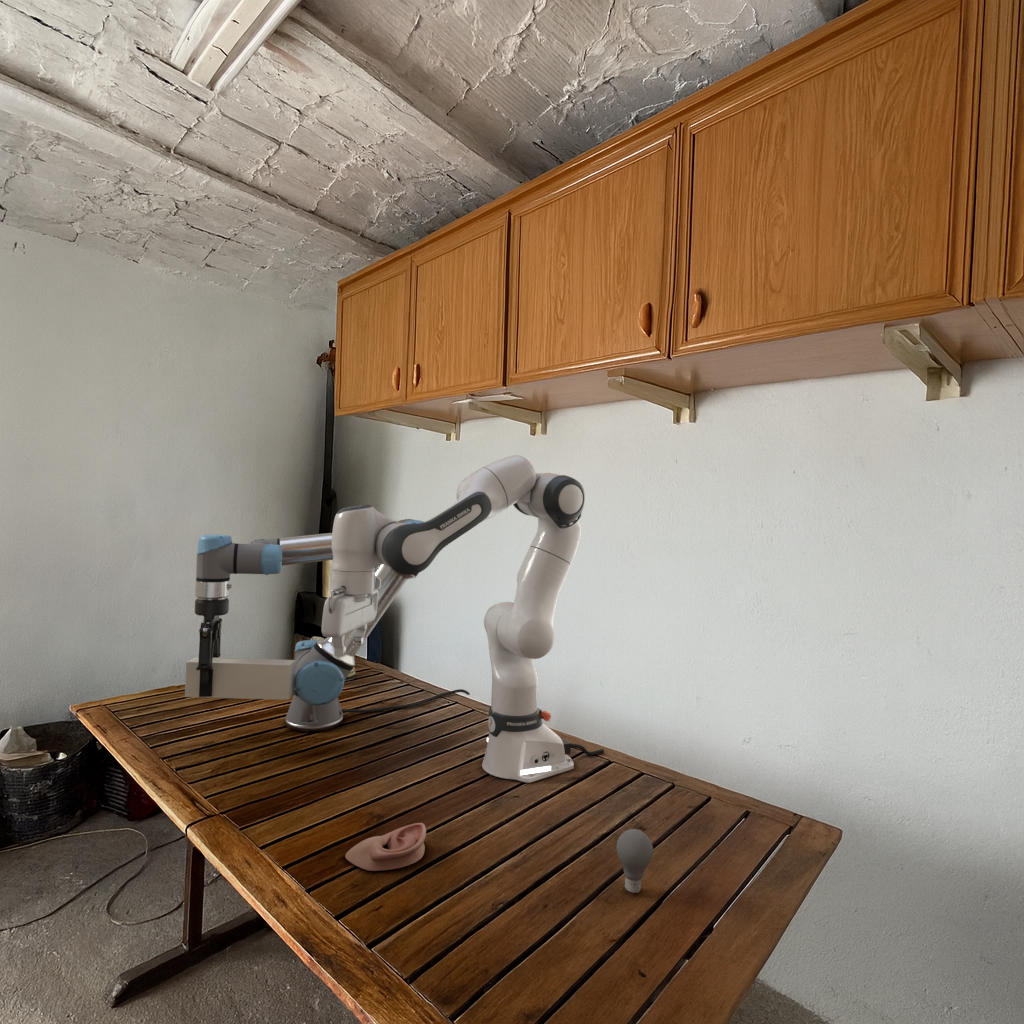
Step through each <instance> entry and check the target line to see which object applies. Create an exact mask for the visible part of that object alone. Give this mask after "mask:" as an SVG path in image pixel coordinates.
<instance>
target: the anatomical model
mask: <svg viewBox="0 0 1024 1024" xmlns="http://www.w3.org/2000/svg"><path fill="white" fill-rule="evenodd" d="M426 837H427V827H426V824H425V823H423V822H415V823H412V824H408V825H404V826H402V827H399V828H396V829H394V830H392V831H390V832H388V833H384V834H382V835H375V836H372V837H367V838H365V839H364V840H361V841H360V842H358V843H357V844H356V845H353V847H351V848H350V849H349V850H348V851H347V852H346V853H345V856H344V857H345V860H347V862H349V863H350V864H352V865H354V866H356V867H357V868H360V869H362V870H364V871H367V872H378V871H380V872H381V871H389V870H396V869H400V868H404V867H407V866H410V865H412V864H415V863H417V862H418V861H420V860H421V859H422V858H423V857H424V854H425V851H426V849H425V848H426V846H425V843H424V842H425V840H426Z"/></svg>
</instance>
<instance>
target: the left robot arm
mask: <svg viewBox="0 0 1024 1024" xmlns="http://www.w3.org/2000/svg"><path fill="white" fill-rule="evenodd" d="M397 521H398V522H400V523H405V524H417V523H423V522H424V521H423V520H419V519H412V518H405V519H401V520H397ZM197 540H198V541H197V551H196V567H195V568H196V571H195V588H194V596H195V598H196V599H195V600H194V614H195V615H197V616H202V617H203V620H202V621H203V622H200V628H199V630H198V632H199V645H198V657H199V662H198V668H196V670H200V684H199V697H211V696H212V681H213V669H212V661H213V658H221V655H222V654H221V644H222V643H221V641H222V625H223V623H222V622H223V618H222V617H220V616H224V615H227V614H228V613H229V611H230V599H229V598H228V597H229V596H230V589H232V588H233V585H232V584H230V580H231V575H237V574H238V575H265V576H268V575H278V574H280V573H281V572H282V568H283V567H282V566H288V565H289V566H290V565H298V564H308V563H317V562H318V563H319V562H327V561H333V552H332V548H331V545H332V532H327V533H317V534H308V535H296V536H288V537H279V538H270V539H269V538H268V539H265V538H258V539H254V540H253V541H250V543H236V542H233V540H232V536H231V535H229V534H203V535H201V536H199V538H198V539H197ZM374 574H375V575H376V576H377V577H379V578H380V579H381V586H380V588H379V589H378V606H377V614H376V617H375V619H374V620H373V621H371V622H369V623H367V629H366V633H365V636H364V642H365V641H366V640H367V639H368V637H369V636H370V634H371V632H372V631H373V630H374V628H375V627H376V625H377V624H378V622H379V621H380V620H381V619H382V617H383V616H384V614H385V612H386V611H387V610H388V608H389V606H391V604H392V602H393V601H394V599H395V598H396V597H397V596H398V594H399V593H400V591H401V589H402V588H403V587H404V585H405V584H406V582H407V581H408V580H411V579H415V578H416V577H417V576H418V575H419V573H417V574H413V575H405V574H401V573H399V572H397V571H395V570H394V569H392V568H391V567H388V566H386V565H384V564H377V565H376V566H375V573H374ZM355 633H356V629H355V630H353V631H351V632H349V633H347V634H345V639H344V640H343V641H344V646H345V647H346V654H345V655H344V656H342V657H336V656H335V655H334V645H333V642H332V637H325V638H324V639H322V640H311V639H306V640H305V639H304V640H300V641H298V642H297V643H295V648H294V649H295V650H293V651H294V660H296V662H295V687H294V695H293V696H292V699H291V702H290V704H289V708H288V711H287V713H286V715H285V726H286V728H287V729H289V730H291V731H294V732H295V731H296V732H301V733H316V732H325V731H329V730H332V729H335V728H337V727H339V726H340V725H342V723H343V722H344V714H343V713H355V714H356V713H358V714H359V713H360V714H365V713H375V712H376V713H377V712H382V711H391V710H398V709H399V710H400V709H406V708H414V707H416V706H420V705H423V704H426V703H428V702H432V701H435V700H436V699H438V698H441V697H445V696H449V695H453V694H457V693H464V694H466V695H467V696H469V695H471V693H470V692H469V691H467V690H465V689H461V688H458V689H454V690H450V691H446V692H442V693H438V694H436V695H434V696H432V697H428V698H426V699H423V700H421V701H417V702H414V703H413V702H412V703H408V704H401V705H390V706H385V707H377V708H366V709H361V708H360V709H357V708H344V709H343V708H342V706H341V702H340V699H339V696H340V695H341V693H342V692H343V689H344V686H345V681H344V680H345V679H346V678H347V676H348V675H349V673H350V672H351V670H352V669H353V667H354V668H355V666H356V659H355V656H356V654H357V653H358V652H359V650H360V648H361V647H362V646H363V645H361V646H354V645H353V642H354V641H353V638H354V637H355ZM199 697H198V698H199Z"/></svg>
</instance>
